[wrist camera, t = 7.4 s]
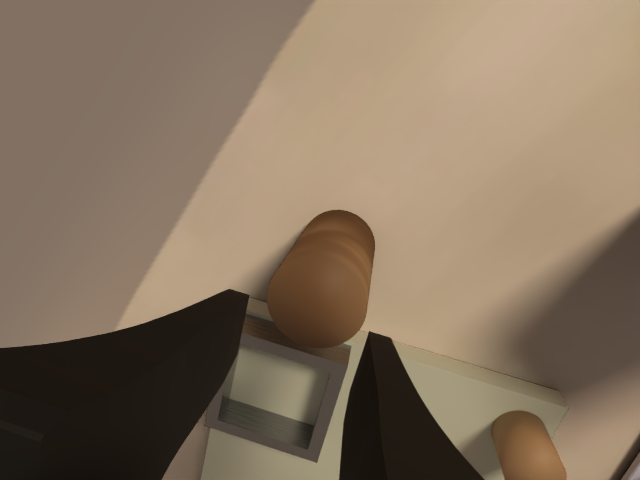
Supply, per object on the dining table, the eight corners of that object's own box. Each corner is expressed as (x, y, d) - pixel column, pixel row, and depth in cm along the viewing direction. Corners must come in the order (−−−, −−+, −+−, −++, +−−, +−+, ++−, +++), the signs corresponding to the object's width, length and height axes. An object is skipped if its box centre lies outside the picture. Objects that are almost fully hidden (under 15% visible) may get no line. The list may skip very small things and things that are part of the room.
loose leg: (384, 221, 19) (379, 273, 13) (363, 287, 20) (351, 360, 15) (311, 201, 19) (277, 243, 14) (295, 267, 20) (258, 331, 15)
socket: (351, 345, 20) (348, 366, 18) (322, 438, 22) (317, 463, 20) (235, 310, 20) (222, 326, 19) (217, 403, 22) (204, 425, 21)
